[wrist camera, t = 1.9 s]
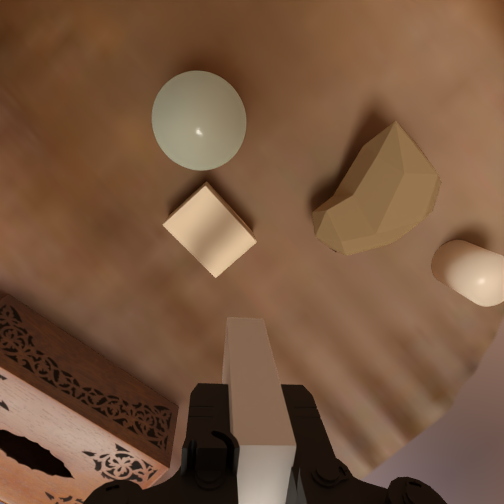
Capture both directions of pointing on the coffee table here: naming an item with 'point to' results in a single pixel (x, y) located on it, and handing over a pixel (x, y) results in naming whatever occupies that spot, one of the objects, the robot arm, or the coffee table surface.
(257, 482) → the robot arm
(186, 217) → the birch box
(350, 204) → the low-poly potato
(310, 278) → the coffee table surface
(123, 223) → the coffee table surface
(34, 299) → the coffee table surface
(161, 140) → the pale green egg
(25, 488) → the tissue box cover
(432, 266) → the cream capsule
